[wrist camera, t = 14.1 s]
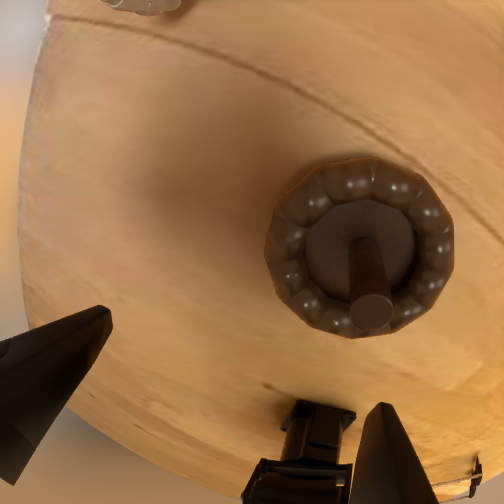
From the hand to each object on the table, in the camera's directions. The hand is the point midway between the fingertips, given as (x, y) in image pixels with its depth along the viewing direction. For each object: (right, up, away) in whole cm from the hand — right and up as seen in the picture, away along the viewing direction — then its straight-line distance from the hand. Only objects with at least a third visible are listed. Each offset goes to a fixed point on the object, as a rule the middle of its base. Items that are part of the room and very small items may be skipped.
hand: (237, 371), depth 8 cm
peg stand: (+7, +4, +10) cm, 13 cm away
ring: (+7, +3, +8) cm, 11 cm away
